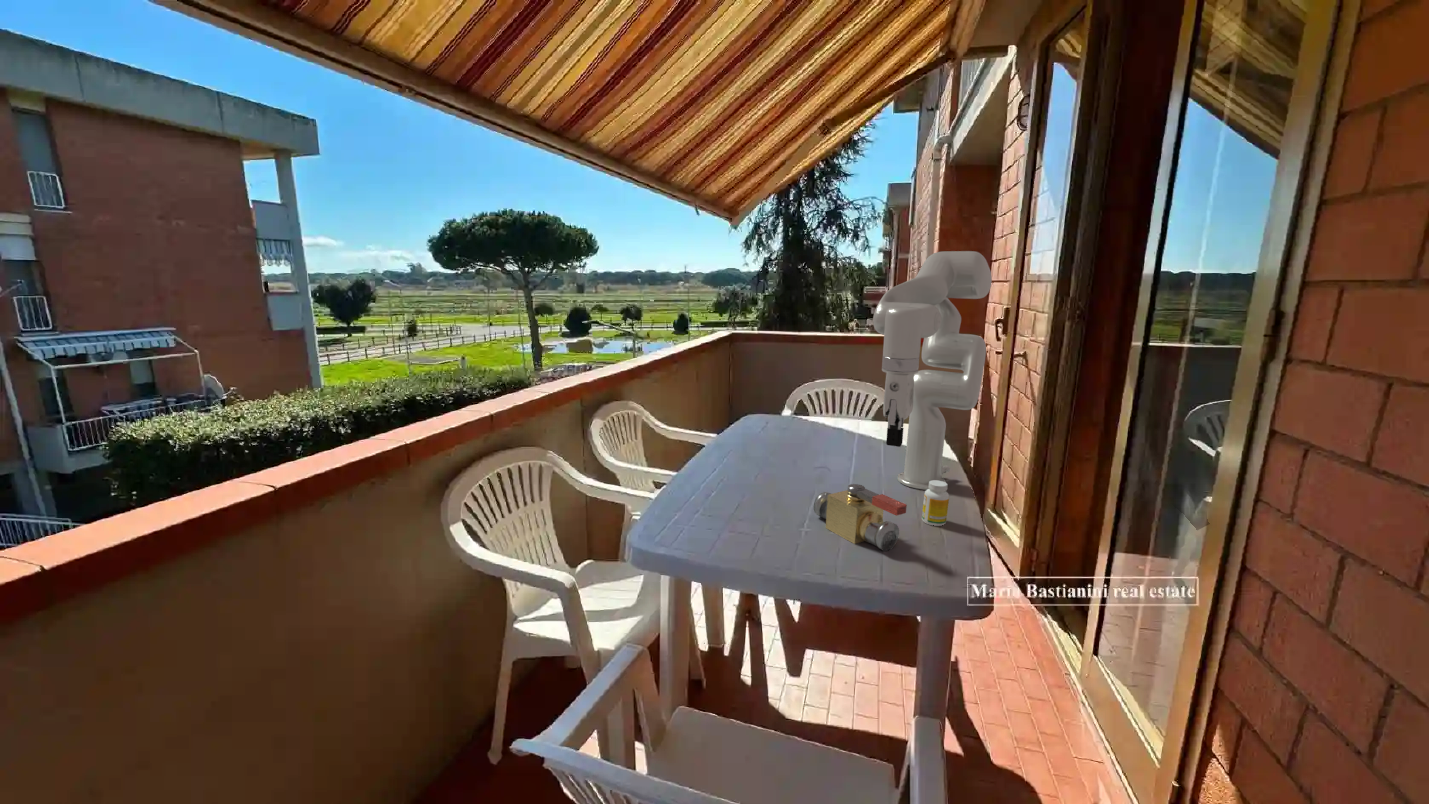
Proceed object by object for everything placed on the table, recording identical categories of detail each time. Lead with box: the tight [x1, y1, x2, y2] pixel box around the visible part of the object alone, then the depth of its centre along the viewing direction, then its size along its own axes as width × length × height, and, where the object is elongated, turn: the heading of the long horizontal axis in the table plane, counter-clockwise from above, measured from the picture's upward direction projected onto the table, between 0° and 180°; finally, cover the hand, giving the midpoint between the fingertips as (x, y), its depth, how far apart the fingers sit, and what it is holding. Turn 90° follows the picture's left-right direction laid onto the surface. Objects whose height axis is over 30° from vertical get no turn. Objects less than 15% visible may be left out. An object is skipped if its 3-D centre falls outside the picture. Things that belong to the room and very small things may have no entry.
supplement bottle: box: [921, 480, 950, 527], centre depth 131 cm, size 5×5×10 cm
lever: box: [847, 483, 908, 516], centre depth 119 cm, size 14×4×2 cm, turn 31°
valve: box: [813, 489, 900, 552], centre depth 125 cm, size 20×8×9 cm, turn 31°
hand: (894, 444), depth 127 cm, fingers closed
